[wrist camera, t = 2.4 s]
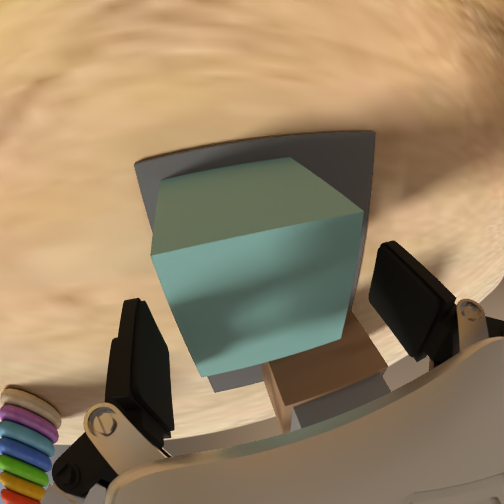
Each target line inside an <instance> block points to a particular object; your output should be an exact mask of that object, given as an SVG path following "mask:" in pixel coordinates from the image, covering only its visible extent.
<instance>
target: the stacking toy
mask: <svg viewBox="0 0 504 504" xmlns="http://www.w3.org/2000/svg"><path fill="white" fill-rule="evenodd" d="M0 400H1V403H2V405H3V406H2V407H1V409H0V418H1V420H2V421H1V422H0V436H1V437H2V438H1V439H0V451H1V453H2V454H3V455H0V468H1V469H2V470H3V471H5V472H1V473H0V481H1V483H2V484H3V485H4V486H5V487H6V488H7V489H2V491H1V498H2V500H3V501H4V502H5V503H6V504H40V503H41V502H39V501H42V499H43V497H44V494H45V492H46V490H45V489H44V488H43V487H44V486H47V485H48V483H49V479H48V476H47V474H46V473H45V472H48V471H50V470H51V468H52V463H51V460H50V459H49V457H52V456H53V455H54V452H55V448H54V445H53V444H54V443H56V442H57V441H58V437H59V435H58V431H57V429H58V428H59V427H60V426H61V417H60V415H59V413H58V412H57V411H56V410H55V409H54V408H53V407H52V406H51V405H49V404H48V403H46V402H45V401H43V400H42V399H40V398H38V397H36V396H34V395H32V394H30V393H27V392H24V391H21V390H18V389H5V390H4V391H3V392H2V393H1V397H0ZM42 486H43V487H42Z"/></svg>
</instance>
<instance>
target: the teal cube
mask: <svg viewBox="0 0 504 504" xmlns="http://www.w3.org/2000/svg"><path fill="white" fill-rule="evenodd" d="M363 214H364V211H363V210H362V209H360V208H359V207H358V206H357V205H355V204H354V203H353V202H351V201H350V200H349V199H348V198H346V197H345V196H344V195H342V194H341V193H340V192H338V191H337V190H336V189H334V188H333V187H332V186H330V185H329V184H328V183H326V182H325V181H323V180H322V179H321V178H319V177H318V176H317V175H315V174H314V173H312V172H311V171H309V170H308V169H307V168H305V167H304V166H302V165H301V164H299V163H298V162H296V161H295V160H293V159H292V158H290V157H287V158H279V159H271V160H264V161H258V162H251V163H245V164H239V165H233V166H227V167H221V168H216V169H211V170H206V171H200V172H196V173H191V174H186V175H181V176H177V177H172V178H168V179H164V180H160V186H159V192H158V199H157V206H156V213H155V221H154V229H153V237H152V247H151V258H152V261H153V264H154V267H155V270H156V272H157V275H158V278H159V280H160V283H161V286H162V288H163V291H164V293H165V296H166V299H167V301H168V304H169V306H170V308H171V311H172V313H173V316H174V318H175V321H176V323H177V325H178V328H179V330H180V332H181V335H182V337H183V339H184V341H185V344H186V346H187V348H188V350H189V352H190V354H191V357H192V359H193V361H194V363H195V365H196V367H197V369H198V371H199V373H200V375H201V377H206V376H211V375H215V374H220V373H224V372H229V371H233V370H237V369H242V368H246V367H250V366H254V365H257V364H261V363H265V362H269V361H272V360H276V359H279V358H283V357H286V356H290V355H293V354H296V353H299V352H303V351H306V350H309V349H312V348H315V347H318V346H321V345H324V344H327V343H330V342H333V341H336V340H338V339H341V335H342V331H343V327H344V323H345V319H346V314H347V310H348V305H349V300H350V295H351V290H352V285H353V280H354V274H355V269H356V263H357V257H358V251H359V244H360V237H361V230H362V222H363Z"/></svg>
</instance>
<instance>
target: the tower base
mask: <svg viewBox="0 0 504 504" xmlns="http://www.w3.org/2000/svg"><path fill="white" fill-rule="evenodd" d="M261 365H262V373H263V379H264V382H265V385H266V388H267V391H268V394H269V397H270V400H271V403H272V406H273V408H274V411H275V414H276V417H277V419H278V422H279V425H280V428H281V431H282V434H285V433H288V432H290V430H291V421H292V412H293V407H294V406H297V405H300V404H303V403H306V402H309V401H312V400H315V399H318V398H321V397H323V396H326V395H329V394H331V393H334V392H337V391H339V390H342V389H344V388H347V387H349V386H351V385H354V384H356V383H359V382H361V381H363V380H365V379H368V378H370V377H372V376H374V375H376V374H378V373H380V374H381V376H383V374H384V372H385V371H386V368H387V367H388V365H387V363H386V362H385V360H384V359H383V357H382V356H381V354H380V353H379V351H378V350H377V348H376V347H375V345H374V344H373V342H372V341H371V339H370V338H369V336H368V335H367V333H366V332H365V330H364V329H363V327H362V326H361V324H360V323H359V321H358V320H357V318H356V317H355V315H354V314H353V313H352V311H351V310H350V308H349V307H348V310H347V314H346V319H345V323H344V327H343V331H342V335H341V339H338V340H336V341H333V342H330V343H327V344H324V345H321V346H318V347H315V348H312V349H309V350H306V351H303V352H299V353H296V354H293V355H290V356H286V357H283V358H279V359H276V360H272V361H269V362H265V363H261Z"/></svg>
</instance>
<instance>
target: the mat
mask: <svg viewBox="0 0 504 504" xmlns="http://www.w3.org/2000/svg"><path fill="white" fill-rule="evenodd" d="M374 147H375V132H372V131H343V132H322V133H307V134H294V135H284V136H274V137H266V138H258V139H250V140H243V141H236V142H230V143H223V144H218V145H212V146H206V147H201V148H196V149H191V150H186V151H181V152H176V153H172V154H167V155H163V156H159V157H155V158H151V159H147V160H143V161H139V162H135V164H134V167H135V171H136V175H137V179H138V183H139V187H140V190H141V194H142V198H143V201H144V205H145V209H146V212H147V216H148V219H149V222H150V226H151V229H152V232H153V229H154V221H155V213H156V206H157V199H158V192H159V186H160V180H164V179H168V178H172V177H177V176H181V175H186V174H191V173H196V172H200V171H206V170H211V169H216V168H221V167H227V166H233V165H239V164H245V163H251V162H258V161H264V160H271V159H279V158H287V157H290V158H292V159H293V160H295V161H296V162H298V163H299V164H301V165H302V166H304V167H305V168H307V169H308V170H309V171H311V172H312V173H314V174H315V175H317V176H318V177H319V178H321V179H322V180H323V181H325V182H326V183H328V184H329V185H330V186H332V187H333V188H334V189H336V190H337V191H338V192H340V193H341V194H342V195H344V196H345V197H346V198H348V199H349V200H350V201H351V202H353V203H354V204H355V205H357V206H358V207H359V208H360V209H362V210H363V211H364V214H363V222H362V230H361V237H360V244H359V251H358V257H357V263H356V269H355V274H354V280H353V285H352V290H351V295H350V300H349V305H348V307H349V308H350V310H351V309H352V304H353V300H354V295H355V291H356V286H357V281H358V276H359V270H360V265H361V259H362V254H363V248H364V241H365V235H366V228H367V221H368V213H369V205H370V196H371V187H372V176H373V163H374ZM207 377H208V379H209V381H210V384H211V386H212V388H213V390H214V392H215V393H216V392H220V391H225V390H230V389H234V388H238V387H242V386H246V385H251V384H254V383H258V382H262V381H264V379H263V373H262V365H261V364H257V365H254V366H250V367H246V368H242V369H237V370H233V371H229V372H224V373H220V374H215V375H211V376H207Z"/></svg>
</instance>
